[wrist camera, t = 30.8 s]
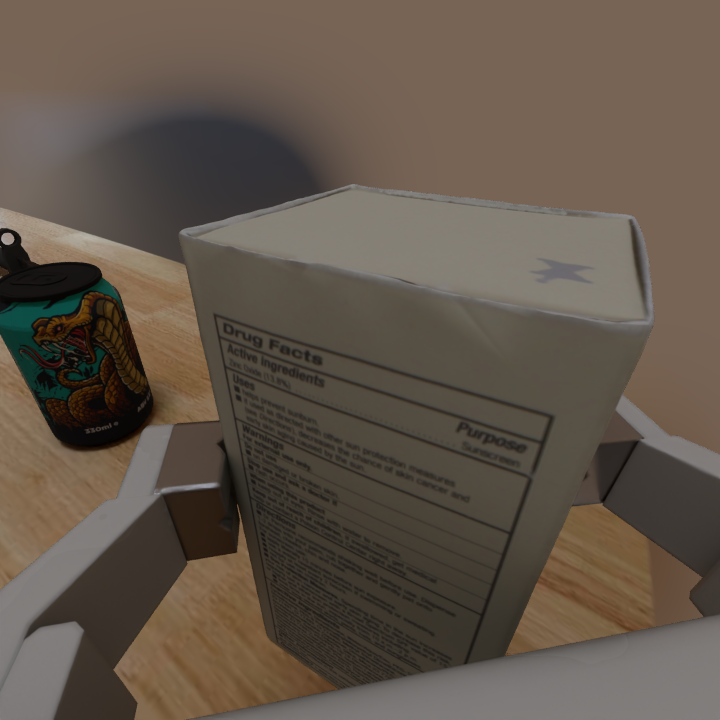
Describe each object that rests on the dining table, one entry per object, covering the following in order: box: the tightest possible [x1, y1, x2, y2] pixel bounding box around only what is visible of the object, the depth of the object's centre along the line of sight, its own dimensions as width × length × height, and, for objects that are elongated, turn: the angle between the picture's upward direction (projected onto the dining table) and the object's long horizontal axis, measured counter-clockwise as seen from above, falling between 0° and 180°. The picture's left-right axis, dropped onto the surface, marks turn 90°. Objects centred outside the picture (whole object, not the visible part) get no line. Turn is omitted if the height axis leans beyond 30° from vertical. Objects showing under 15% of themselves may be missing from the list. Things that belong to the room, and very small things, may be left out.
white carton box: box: [179, 184, 655, 689], centre depth 8 cm, size 5×4×10 cm
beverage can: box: [0, 262, 154, 446], centre depth 29 cm, size 7×7×12 cm
